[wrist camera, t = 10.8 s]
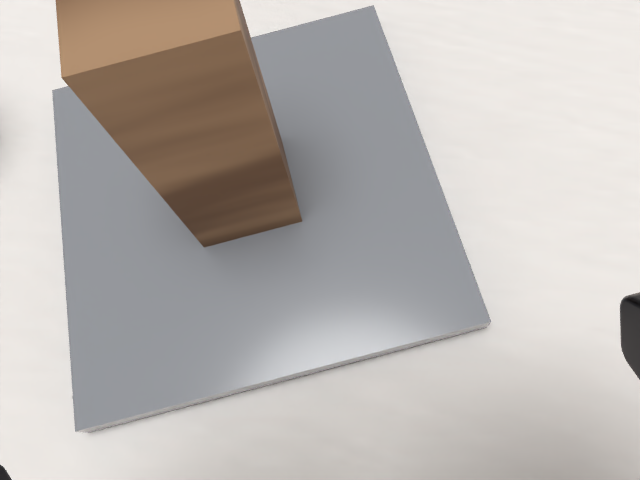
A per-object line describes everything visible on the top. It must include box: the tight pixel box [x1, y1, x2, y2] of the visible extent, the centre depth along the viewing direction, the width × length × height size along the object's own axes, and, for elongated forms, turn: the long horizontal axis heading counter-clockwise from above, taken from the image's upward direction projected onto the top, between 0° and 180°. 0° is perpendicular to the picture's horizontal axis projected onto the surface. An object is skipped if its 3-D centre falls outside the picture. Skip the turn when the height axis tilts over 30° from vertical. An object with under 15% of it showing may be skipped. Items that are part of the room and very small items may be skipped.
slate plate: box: [52, 5, 491, 433], centre depth 24 cm, size 16×16×1 cm
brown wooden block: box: [56, 0, 302, 247], centre depth 18 cm, size 4×4×11 cm
